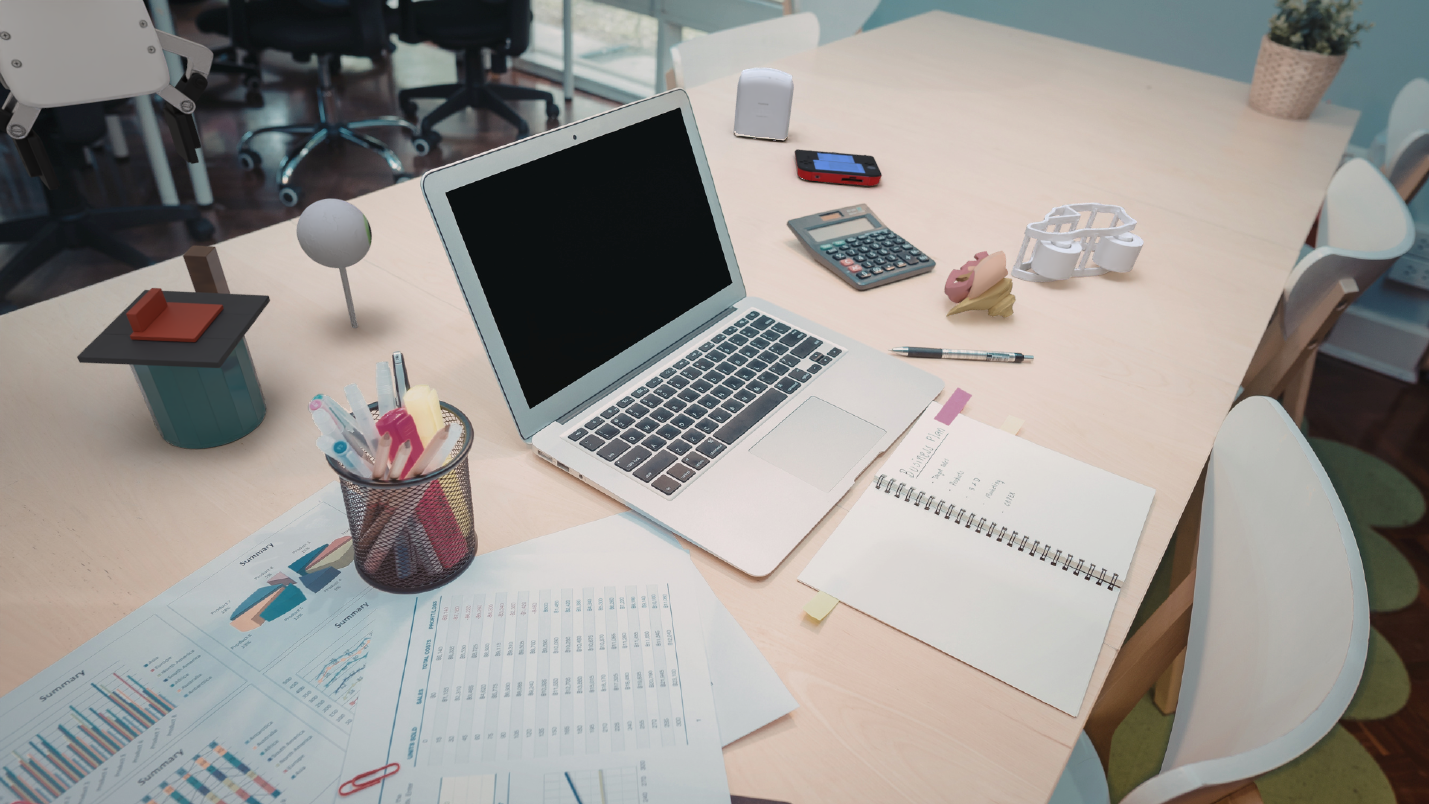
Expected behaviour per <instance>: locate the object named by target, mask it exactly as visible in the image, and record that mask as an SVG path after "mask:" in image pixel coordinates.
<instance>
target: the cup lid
mask: <svg viewBox="0 0 1429 804" xmlns="http://www.w3.org/2000/svg"><path fill="white" fill-rule="evenodd" d="M149 290H150V289H144V290H143V291H142V292H141V293H140V294H139V295H138V296H137V297H136V298H135V299H134V300H132V302H130V304H129V305H128V306H127V307H126V308H125V309H124V310H123V311H122V312H121V313H119V314H118V316H116V317H115V319H113V321H112V322H111V323H109V324H108V325H107V326H106V328H104V329H103V331H101V332H100V333H99V334H98V336H96V338H94V339H93V340H92V341H91V342H90V344H89V343H88V345H87V346H86V347H85V348H84V349H83V350H82V351H81V352H80V353H79V354H78V355H77V356H76V359H77V360H78V362H79V363H80V364H104V365H127V366H128V365H129V366H130V365H153V366H179V367H205V368H220V367H221V366H222V364H223V363H224V362H225V360H226V359H227V358H228V356H229V355H230V354H231V352H232V351H233V350H234V348H235V347H236V346H237V344H238V343H239V342H240V340H241V339H242V338H243V336H244V335H246V334H247V333H248V332H249V330H250V329H251V327H252V326H253V324H254V323H255V322H256V321H257V319H258V318H259V317H260V316H261V314H262V313H263V311H264V310H265V308H267V306H268V305H269V304H270V302H271V298H270V295H268V294H267V295H264V294H262V295H261V294H246V293H245V294H244V293H243V294H242V293H230V294H224V293H202V292H195V291H181V290H180V291H179V290H178V291H177V290H176V291H175V290H162V292H163V294H164V297H165V300H166V302H172V303H194V304H217V305H223V308H224V309H223V310H222V311H221V312H220V313H219V315H218V316H217V317H216V318H215V319H214V321H213V322H212V323H211V324H210V325H209V327H208V328H207V329H206V330H205V331H204V333H203V334H202V335H201V336H200V337H199V339H198V340H197V341H196V342H179V341H154V340H131V338H130V335H131V334H132V333H133V330H132V327H131V325H130V322H129V320H128V318H127V315H126V313H127V312H128V311H129V310H130V309H131V308H132V307H133V306H134V305H135V304H136V303H137V302H138V301H139V300H140V299H141V298H142V297H143V296H144V295H145V294H146V293H147V292H148V291H149Z"/></svg>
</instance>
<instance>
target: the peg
mask: <svg viewBox="0 0 1429 804" xmlns="http://www.w3.org/2000/svg"><path fill="white" fill-rule="evenodd" d="M182 257H183V261H184V263H185V266H186V269H187V272H188V275H189V278H190V280H191V283H192V286H193V289H194V292H202V293H224V294H231V292H230V291H231V290H230V288H229V285H228V282H227V279H226V278H227V277H226V275H225V272H224V269H223V266H222V263H221V260H220V256H219V253H218V250H217V247H216V246H211V245H192V246H191V247H189V249H188V250H186V252H185V253H184V254H183V255H182Z"/></svg>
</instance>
